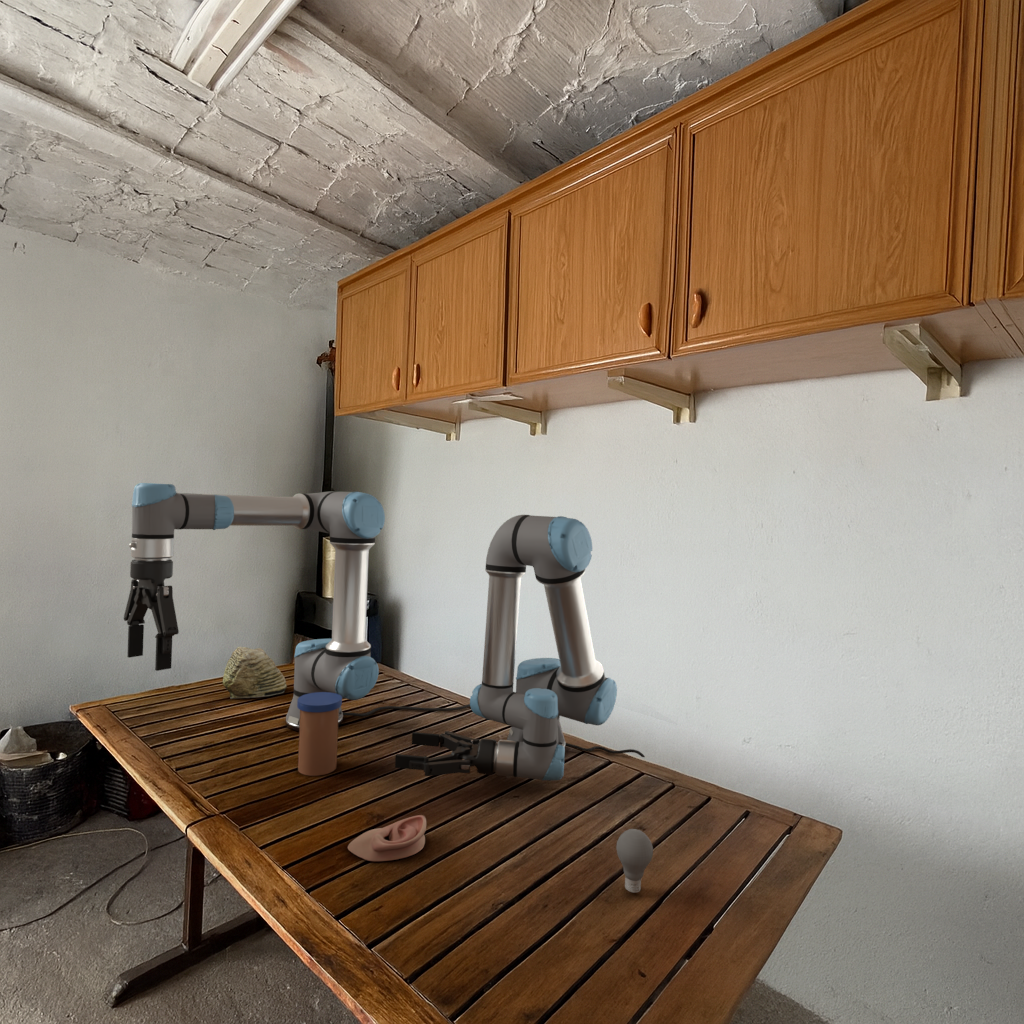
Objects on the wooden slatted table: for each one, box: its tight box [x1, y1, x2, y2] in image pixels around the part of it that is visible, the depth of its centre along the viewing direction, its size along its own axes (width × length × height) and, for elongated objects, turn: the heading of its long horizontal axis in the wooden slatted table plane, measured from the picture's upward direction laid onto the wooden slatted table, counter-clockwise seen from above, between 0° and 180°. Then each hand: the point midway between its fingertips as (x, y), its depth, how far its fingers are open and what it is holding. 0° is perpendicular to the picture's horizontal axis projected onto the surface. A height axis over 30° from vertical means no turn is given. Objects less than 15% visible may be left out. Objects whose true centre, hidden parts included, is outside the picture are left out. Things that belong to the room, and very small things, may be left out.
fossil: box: [222, 646, 288, 699], centre depth 198 cm, size 9×18×15 cm, turn 132°
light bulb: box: [615, 828, 654, 894], centre depth 106 cm, size 6×6×10 cm
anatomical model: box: [347, 814, 427, 862], centre depth 116 cm, size 13×4×12 cm
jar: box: [297, 708, 339, 777], centre depth 148 cm, size 9×9×16 cm
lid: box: [297, 692, 343, 712], centre depth 147 cm, size 10×10×2 cm
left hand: (148, 662), depth 129 cm, fingers open, 13 cm apart
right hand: (404, 748), depth 145 cm, fingers open, 13 cm apart
